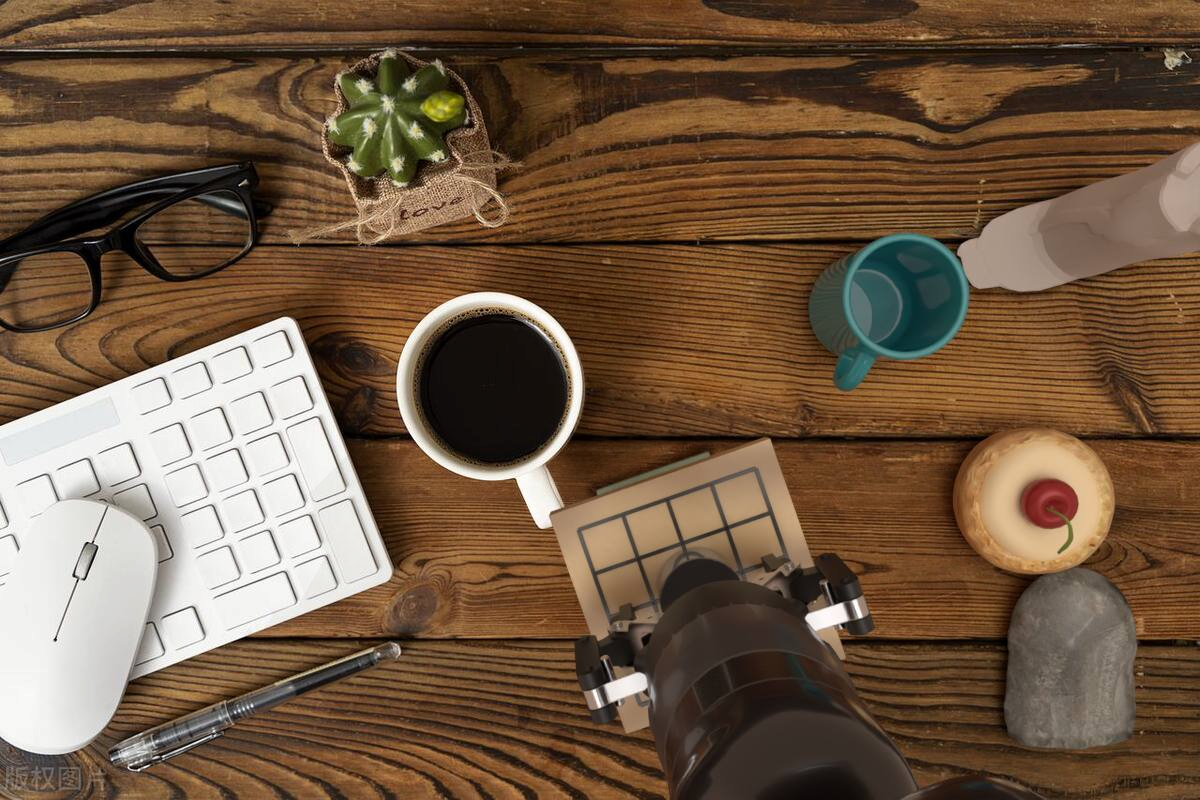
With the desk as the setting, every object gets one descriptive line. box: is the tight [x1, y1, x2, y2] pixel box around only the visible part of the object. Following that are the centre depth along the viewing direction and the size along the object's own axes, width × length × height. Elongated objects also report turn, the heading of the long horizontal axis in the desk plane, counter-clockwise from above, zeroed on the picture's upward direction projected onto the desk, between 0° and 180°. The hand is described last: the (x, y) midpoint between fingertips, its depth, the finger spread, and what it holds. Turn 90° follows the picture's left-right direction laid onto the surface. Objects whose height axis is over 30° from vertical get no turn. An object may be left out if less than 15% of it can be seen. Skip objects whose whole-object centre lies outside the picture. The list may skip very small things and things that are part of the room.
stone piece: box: [657, 547, 741, 613], centre depth 50 cm, size 5×5×3 cm
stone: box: [1003, 566, 1138, 751], centre depth 71 cm, size 11×4×15 cm
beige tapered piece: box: [957, 140, 1200, 293], centre depth 62 cm, size 7×14×20 cm, turn 106°
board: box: [548, 436, 847, 735], centre depth 62 cm, size 14×14×22 cm
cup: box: [807, 232, 970, 393], centre depth 66 cm, size 9×12×11 cm
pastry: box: [952, 427, 1116, 575], centre depth 68 cm, size 12×12×9 cm
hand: (701, 595), depth 49 cm, fingers open, 8 cm apart
